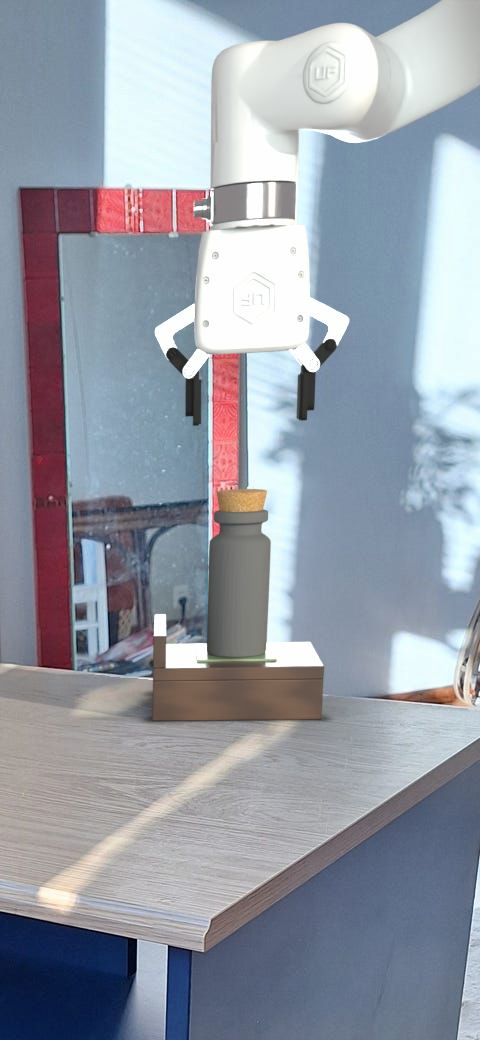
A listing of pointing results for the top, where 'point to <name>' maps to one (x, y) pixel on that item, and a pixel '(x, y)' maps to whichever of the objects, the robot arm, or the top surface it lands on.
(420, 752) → the top surface
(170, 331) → the robot arm
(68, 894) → the top surface
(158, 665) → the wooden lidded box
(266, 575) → the bottle
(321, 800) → the top surface
